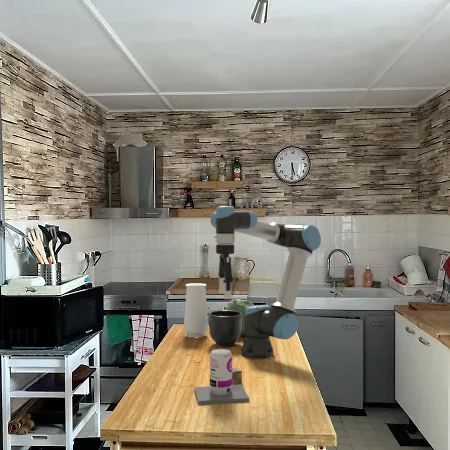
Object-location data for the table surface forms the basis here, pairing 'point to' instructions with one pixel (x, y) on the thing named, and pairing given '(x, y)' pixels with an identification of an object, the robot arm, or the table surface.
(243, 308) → the cabbage
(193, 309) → the vase
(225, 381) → the supplement can
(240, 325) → the planter
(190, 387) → the table surface
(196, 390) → the slate board
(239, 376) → the walnut block
